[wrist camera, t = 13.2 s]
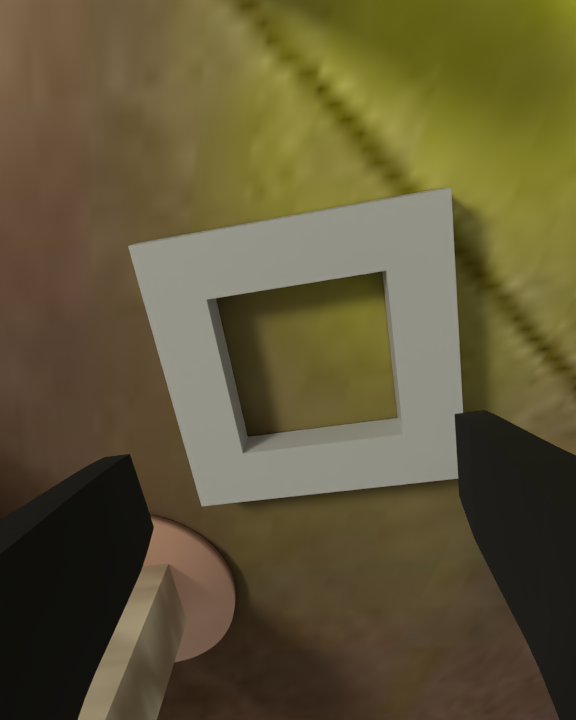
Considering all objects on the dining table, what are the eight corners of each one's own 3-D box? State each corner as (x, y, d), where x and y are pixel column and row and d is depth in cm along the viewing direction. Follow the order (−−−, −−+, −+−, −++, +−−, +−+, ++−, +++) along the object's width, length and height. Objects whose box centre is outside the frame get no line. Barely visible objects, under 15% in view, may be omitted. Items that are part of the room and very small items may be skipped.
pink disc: (252, 647, 26) (251, 657, 26) (90, 658, 28) (85, 668, 27) (213, 503, 23) (210, 511, 23) (31, 523, 24) (24, 531, 24)
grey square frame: (456, 458, 21) (466, 477, 20) (208, 487, 23) (201, 506, 21) (440, 188, 18) (451, 187, 16) (142, 242, 19) (128, 246, 18)
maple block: (187, 621, 25) (131, 802, 18) (118, 626, 26) (35, 804, 18) (168, 563, 24) (99, 733, 16) (96, 570, 24) (-3, 738, 17)
